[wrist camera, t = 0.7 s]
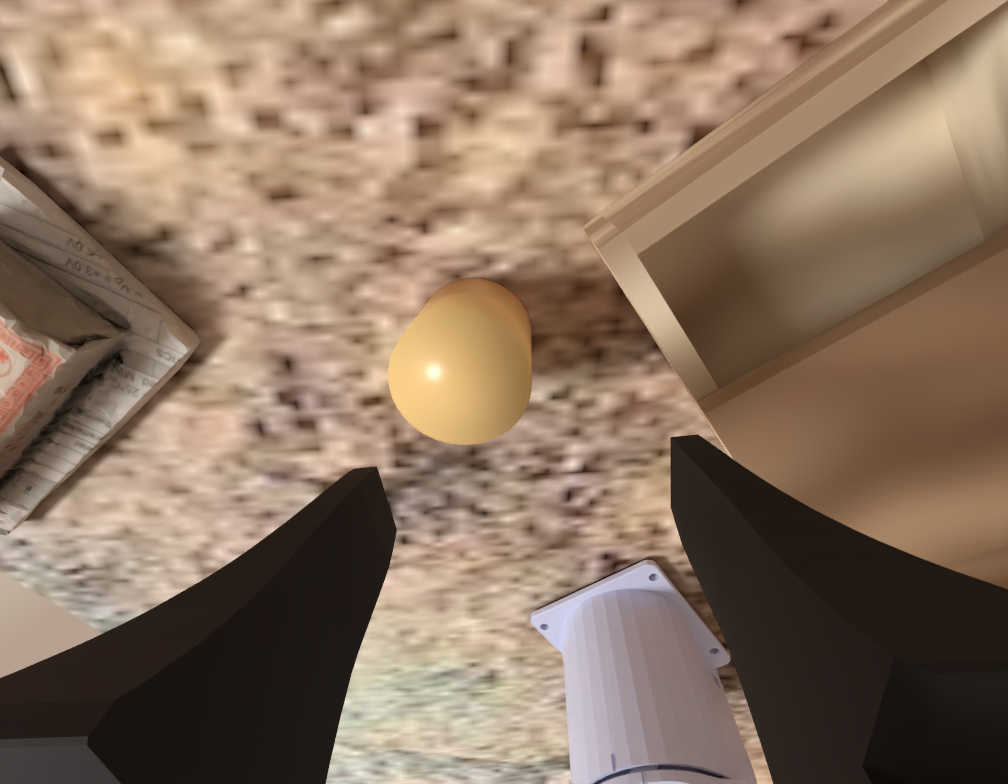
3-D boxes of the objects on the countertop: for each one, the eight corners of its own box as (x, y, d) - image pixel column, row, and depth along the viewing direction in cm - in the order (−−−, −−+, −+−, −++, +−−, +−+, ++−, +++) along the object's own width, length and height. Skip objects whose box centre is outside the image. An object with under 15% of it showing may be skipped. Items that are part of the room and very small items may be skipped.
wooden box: (1012, 295, 18) (1166, 338, 14) (722, 445, 22) (771, 518, 18) (913, -18, 15) (1084, -97, 10) (581, 227, 18) (598, 249, 14)
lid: (1196, 478, 16) (1344, 548, 13) (833, 615, 19) (886, 694, 16) (1137, 156, 12) (1330, 155, 9) (696, 402, 15) (734, 456, 13)
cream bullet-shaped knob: (553, 346, 20) (559, 398, 16) (466, 403, 22) (450, 466, 17) (485, 253, 19) (470, 283, 14) (396, 322, 20) (358, 368, 16)
